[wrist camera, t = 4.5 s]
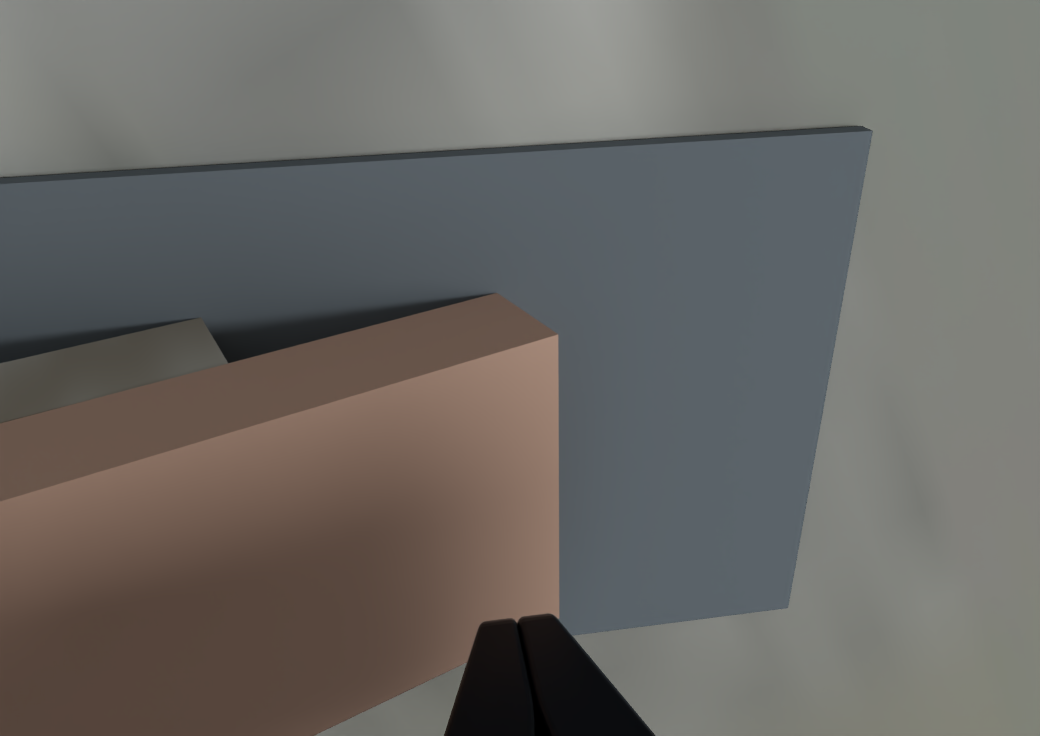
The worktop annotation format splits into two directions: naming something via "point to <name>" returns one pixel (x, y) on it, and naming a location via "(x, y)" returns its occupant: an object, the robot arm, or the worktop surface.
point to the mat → (536, 290)
